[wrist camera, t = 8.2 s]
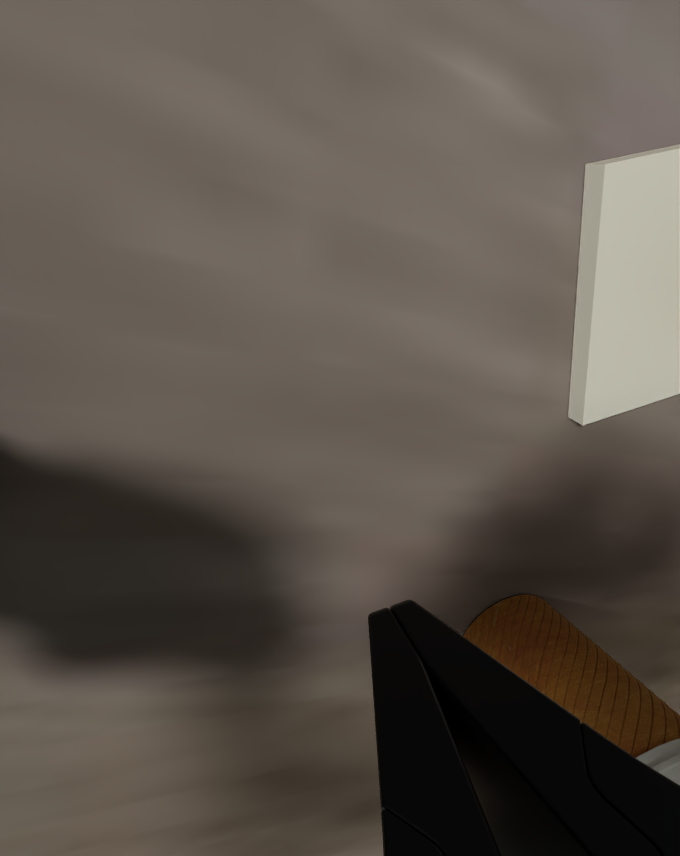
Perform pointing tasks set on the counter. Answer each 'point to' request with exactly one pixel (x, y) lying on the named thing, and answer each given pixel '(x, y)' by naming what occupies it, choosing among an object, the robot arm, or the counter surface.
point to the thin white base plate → (627, 286)
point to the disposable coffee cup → (580, 678)
